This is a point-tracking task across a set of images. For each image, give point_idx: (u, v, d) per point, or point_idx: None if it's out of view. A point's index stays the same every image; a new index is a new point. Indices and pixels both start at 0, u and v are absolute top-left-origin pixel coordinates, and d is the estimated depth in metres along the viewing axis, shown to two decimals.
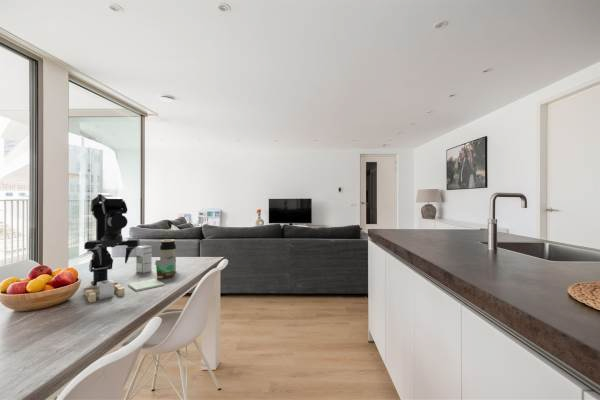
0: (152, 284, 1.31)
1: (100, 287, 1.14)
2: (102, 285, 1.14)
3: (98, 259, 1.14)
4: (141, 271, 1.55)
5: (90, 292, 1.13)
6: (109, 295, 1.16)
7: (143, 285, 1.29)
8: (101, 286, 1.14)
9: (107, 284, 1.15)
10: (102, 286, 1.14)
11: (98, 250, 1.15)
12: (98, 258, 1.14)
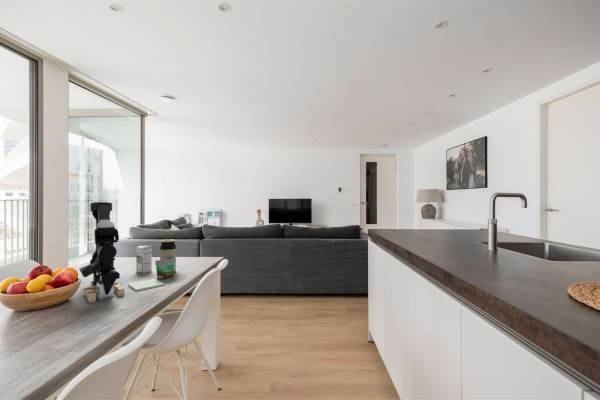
0: (152, 284, 1.31)
1: (100, 287, 1.14)
2: (102, 285, 1.14)
3: None
4: (141, 271, 1.55)
5: (90, 292, 1.13)
6: (109, 295, 1.16)
7: (143, 285, 1.29)
8: (101, 286, 1.14)
9: None
10: (102, 286, 1.14)
11: None
12: None
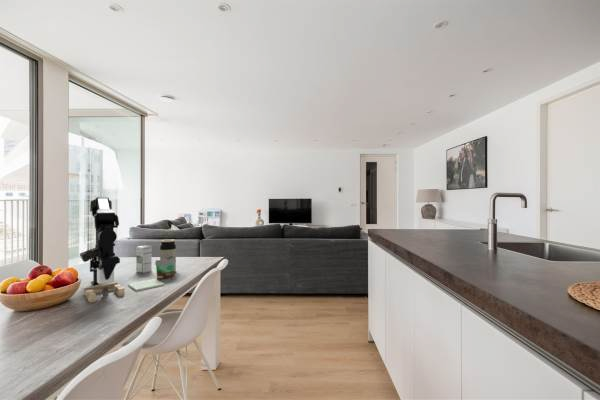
0: (152, 284, 1.31)
1: (100, 272, 1.14)
2: (102, 270, 1.14)
3: None
4: (141, 271, 1.55)
5: (90, 292, 1.13)
6: (109, 280, 1.16)
7: (143, 285, 1.29)
8: (101, 271, 1.14)
9: None
10: (102, 271, 1.14)
11: None
12: None
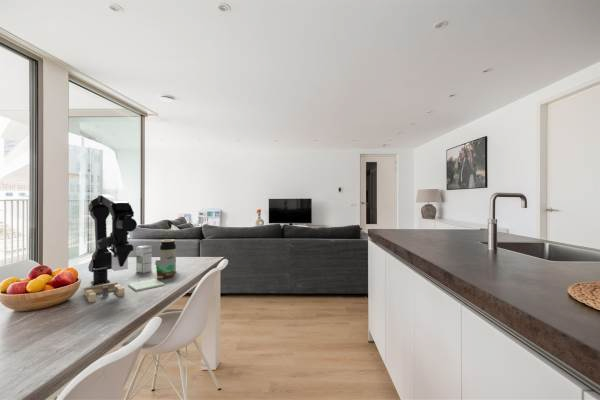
0: (152, 284, 1.31)
1: (115, 259, 1.19)
2: (116, 257, 1.19)
3: None
4: (141, 271, 1.55)
5: (90, 292, 1.13)
6: (123, 267, 1.21)
7: (143, 285, 1.29)
8: (116, 258, 1.19)
9: None
10: (116, 258, 1.19)
11: None
12: None
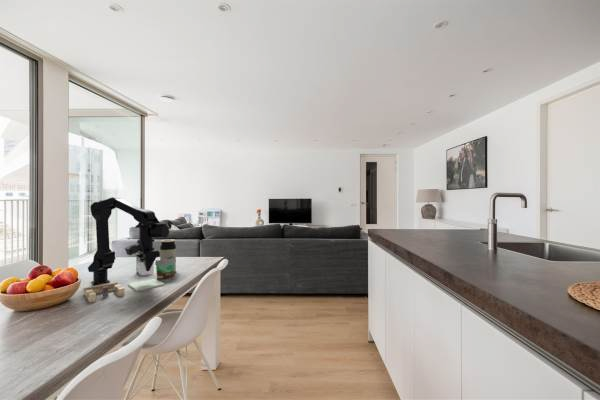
0: (152, 284, 1.31)
1: (142, 264, 1.29)
2: (144, 263, 1.29)
3: None
4: None
5: (90, 292, 1.13)
6: (149, 272, 1.31)
7: (143, 285, 1.29)
8: (143, 263, 1.29)
9: None
10: (144, 264, 1.29)
11: (142, 256, 1.34)
12: None
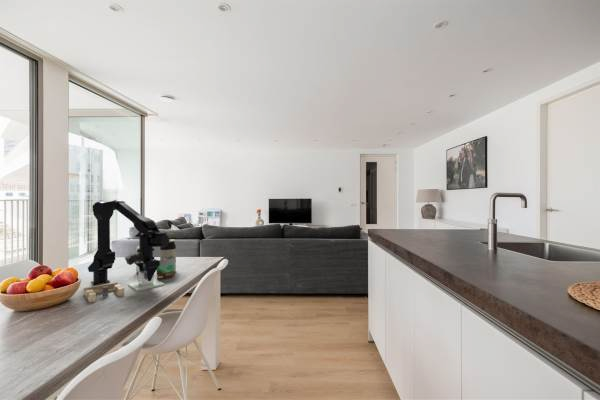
0: (152, 284, 1.31)
1: (142, 275, 1.29)
2: (144, 273, 1.29)
3: None
4: None
5: (90, 292, 1.13)
6: (150, 282, 1.31)
7: None
8: (143, 274, 1.29)
9: None
10: (144, 274, 1.29)
11: (141, 264, 1.35)
12: None
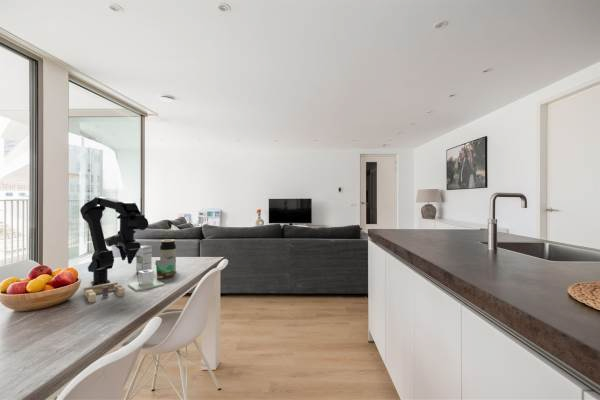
0: (152, 284, 1.31)
1: (142, 275, 1.29)
2: (144, 273, 1.29)
3: None
4: None
5: (90, 292, 1.13)
6: (150, 282, 1.31)
7: None
8: (143, 274, 1.29)
9: (148, 273, 1.31)
10: (144, 274, 1.29)
11: (121, 247, 1.33)
12: (120, 254, 1.33)
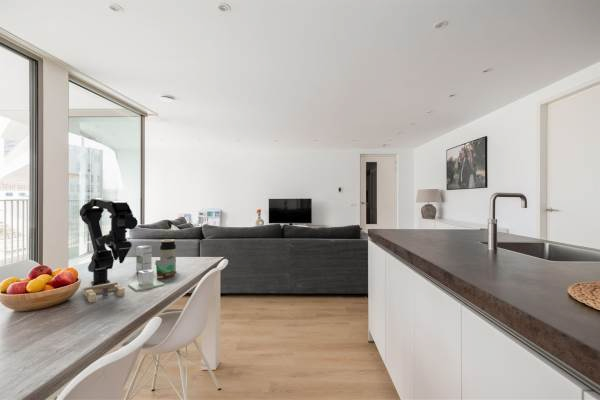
0: (152, 284, 1.31)
1: (142, 275, 1.29)
2: (144, 273, 1.29)
3: (113, 255, 1.32)
4: None
5: (90, 292, 1.13)
6: (150, 282, 1.31)
7: None
8: (143, 274, 1.29)
9: (148, 273, 1.31)
10: (144, 274, 1.29)
11: (113, 247, 1.32)
12: (113, 254, 1.32)
